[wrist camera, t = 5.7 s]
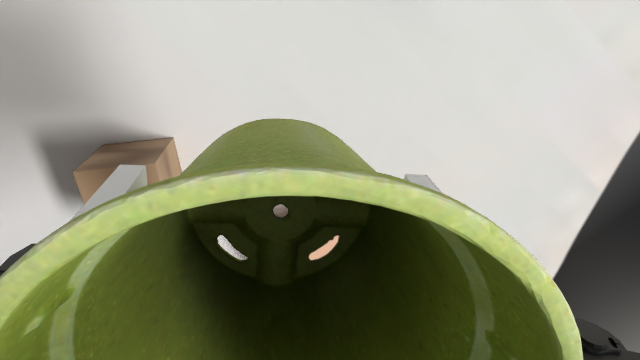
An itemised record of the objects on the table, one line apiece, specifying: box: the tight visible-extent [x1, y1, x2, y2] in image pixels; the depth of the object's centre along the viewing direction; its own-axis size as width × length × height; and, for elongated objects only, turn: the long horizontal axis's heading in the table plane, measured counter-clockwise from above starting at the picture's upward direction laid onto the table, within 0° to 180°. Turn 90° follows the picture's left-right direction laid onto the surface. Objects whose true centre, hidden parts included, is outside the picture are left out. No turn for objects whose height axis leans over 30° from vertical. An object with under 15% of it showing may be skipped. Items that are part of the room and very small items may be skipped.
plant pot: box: [0, 119, 583, 360], centre depth 10 cm, size 9×9×9 cm
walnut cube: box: [72, 138, 182, 205], centre depth 29 cm, size 5×5×5 cm
